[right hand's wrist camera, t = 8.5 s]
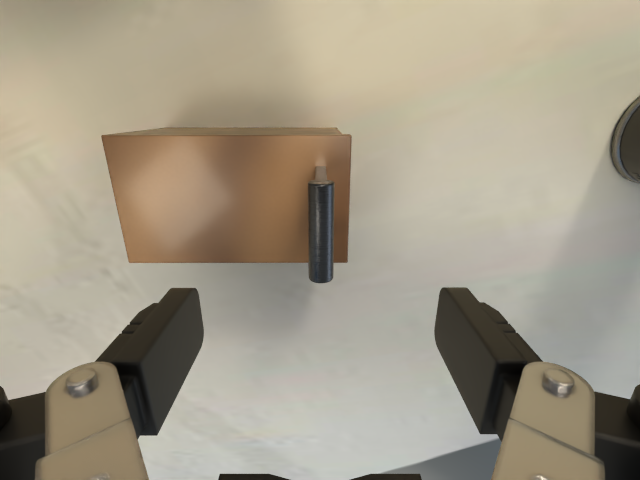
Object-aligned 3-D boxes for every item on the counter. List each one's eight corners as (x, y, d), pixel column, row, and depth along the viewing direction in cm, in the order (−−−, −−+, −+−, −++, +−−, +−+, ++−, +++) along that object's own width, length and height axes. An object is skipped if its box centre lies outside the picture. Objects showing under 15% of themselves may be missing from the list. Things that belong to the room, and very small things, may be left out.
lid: (350, 134, 24) (364, 145, 16) (346, 257, 27) (356, 312, 20) (110, 134, 24) (14, 145, 16) (135, 257, 27) (66, 313, 20)
